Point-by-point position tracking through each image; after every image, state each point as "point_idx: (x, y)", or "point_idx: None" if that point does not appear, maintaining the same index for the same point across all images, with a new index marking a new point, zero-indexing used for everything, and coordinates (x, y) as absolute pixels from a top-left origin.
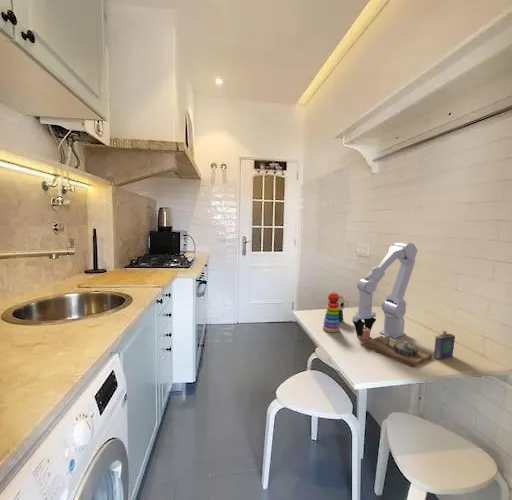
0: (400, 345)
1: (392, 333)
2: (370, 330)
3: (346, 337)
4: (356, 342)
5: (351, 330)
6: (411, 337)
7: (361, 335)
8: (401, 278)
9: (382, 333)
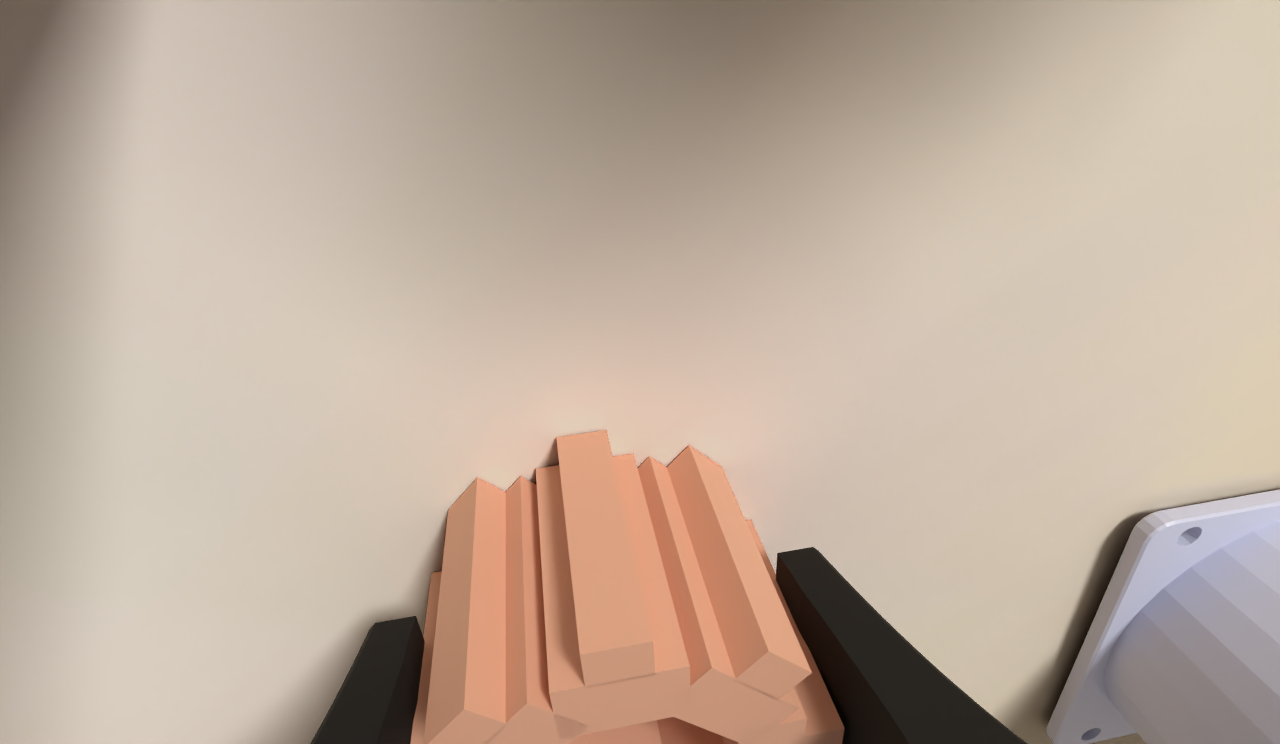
0: None
1: (1144, 739)
2: None
3: (65, 454)
4: (180, 720)
5: (720, 46)
6: None
7: None
8: None
9: (1117, 580)
